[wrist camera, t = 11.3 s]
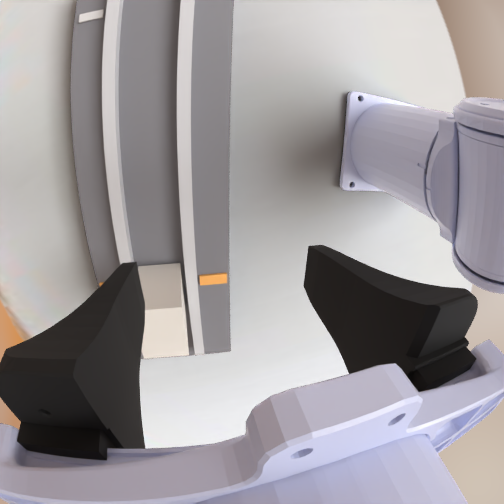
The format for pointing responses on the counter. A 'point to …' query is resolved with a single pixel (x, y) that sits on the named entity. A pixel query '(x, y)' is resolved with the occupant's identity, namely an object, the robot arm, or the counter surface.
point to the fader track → (157, 146)
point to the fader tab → (163, 311)
